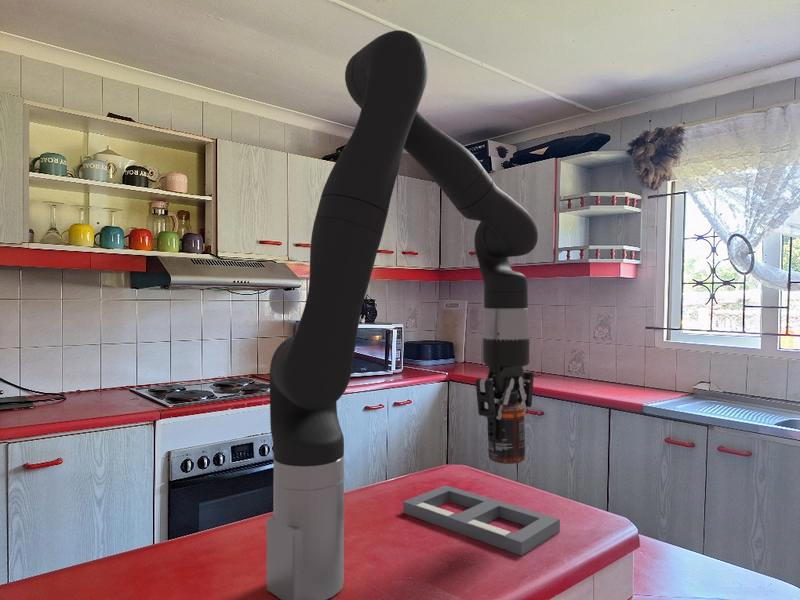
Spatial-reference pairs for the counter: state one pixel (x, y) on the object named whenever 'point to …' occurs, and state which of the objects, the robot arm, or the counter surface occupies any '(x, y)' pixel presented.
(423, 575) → the counter surface
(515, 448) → the supplement bottle
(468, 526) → the socket panel
